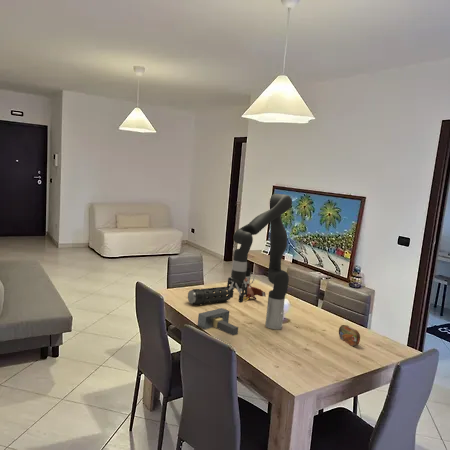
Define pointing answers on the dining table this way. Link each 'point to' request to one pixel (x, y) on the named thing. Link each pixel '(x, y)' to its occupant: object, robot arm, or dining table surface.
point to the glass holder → (248, 275)
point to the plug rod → (225, 326)
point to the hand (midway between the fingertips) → (235, 299)
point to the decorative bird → (253, 291)
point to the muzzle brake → (208, 295)
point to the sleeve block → (212, 317)
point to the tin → (349, 335)
